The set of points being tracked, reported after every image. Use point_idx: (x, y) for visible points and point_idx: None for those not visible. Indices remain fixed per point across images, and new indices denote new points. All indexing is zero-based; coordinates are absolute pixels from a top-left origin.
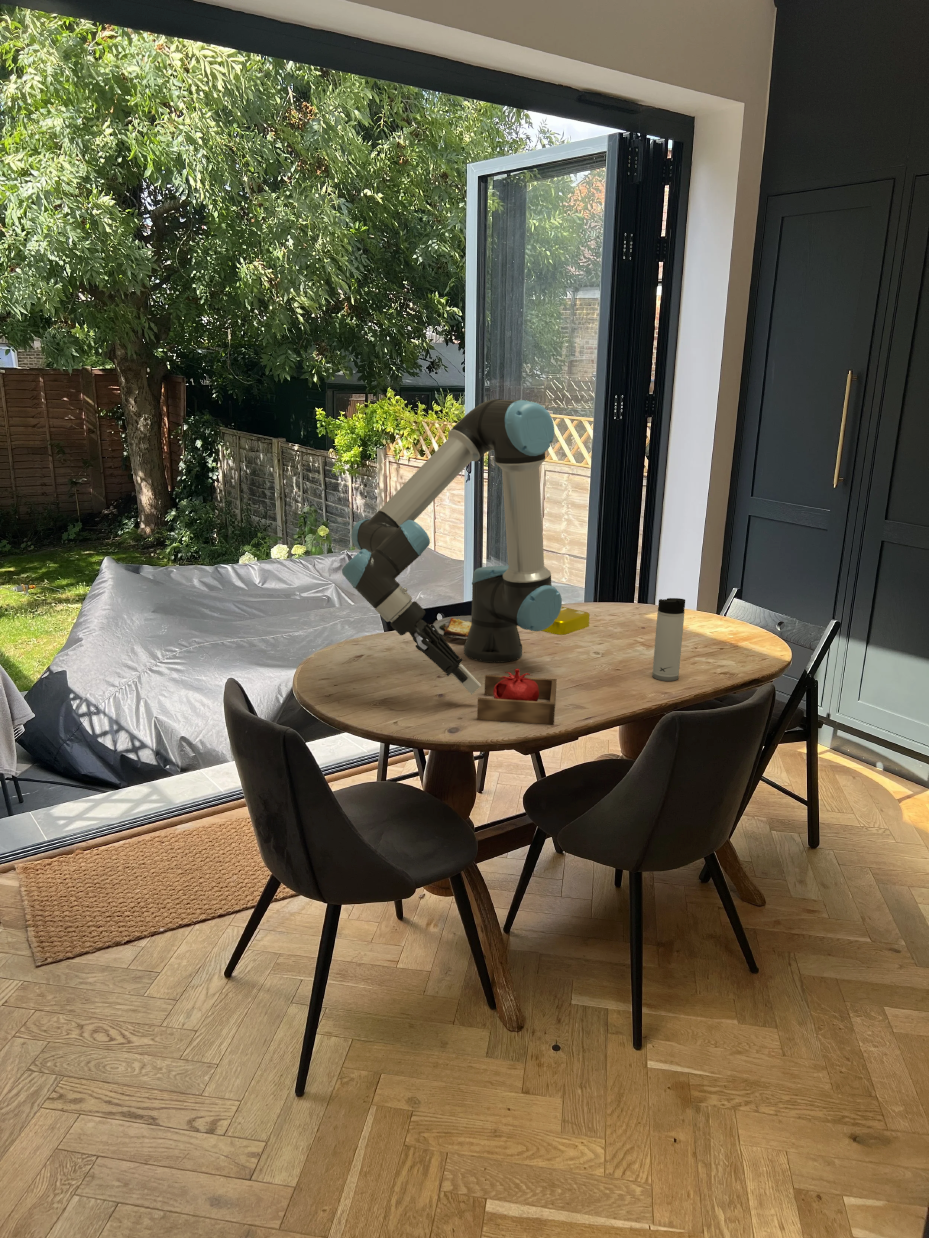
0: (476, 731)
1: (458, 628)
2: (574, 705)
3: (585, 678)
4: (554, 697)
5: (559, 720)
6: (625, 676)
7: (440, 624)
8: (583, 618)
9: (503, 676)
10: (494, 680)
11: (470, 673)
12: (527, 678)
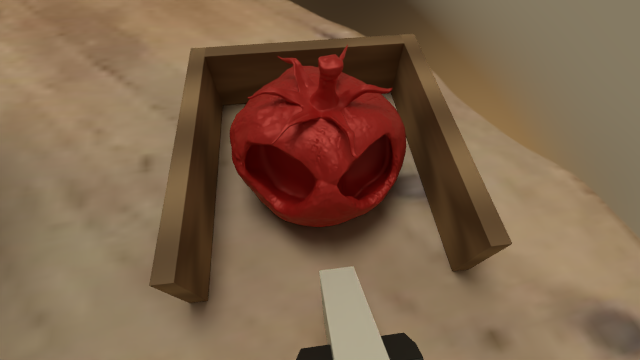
0: (567, 247)
1: None
2: None
3: (48, 58)
4: (360, 38)
5: None
6: (47, 3)
7: None
8: None
9: (351, 134)
10: (187, 241)
11: (329, 328)
12: (286, 79)
